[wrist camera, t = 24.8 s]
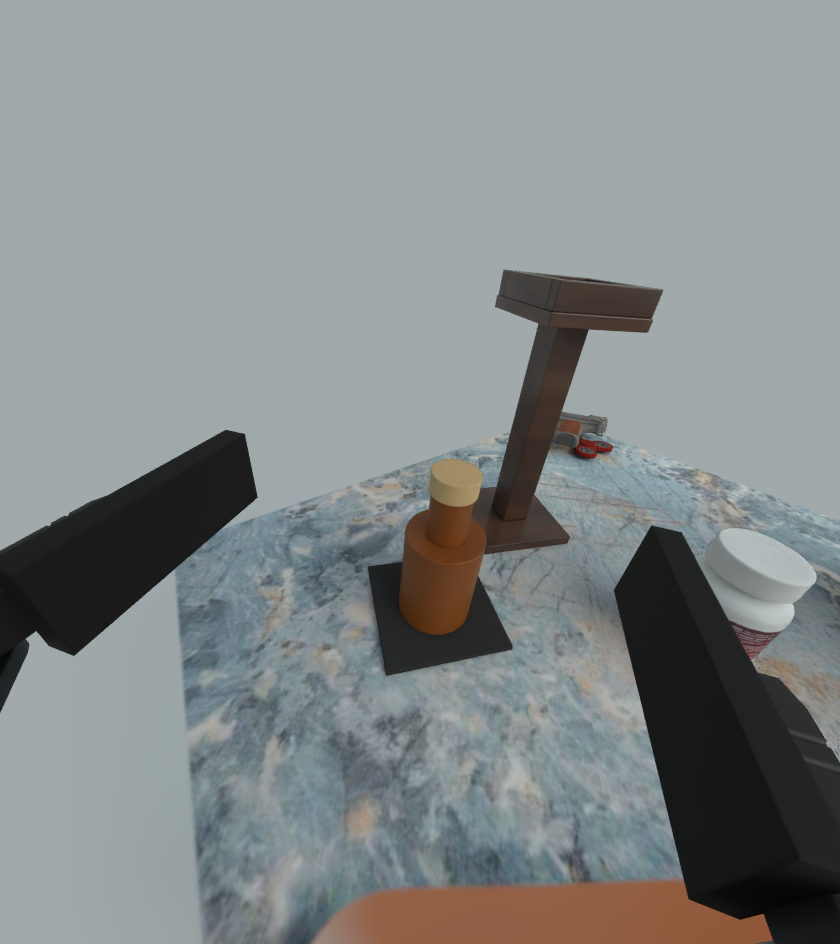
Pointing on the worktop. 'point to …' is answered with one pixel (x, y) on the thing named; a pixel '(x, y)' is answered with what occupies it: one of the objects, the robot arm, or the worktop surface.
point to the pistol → (577, 428)
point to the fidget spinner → (592, 448)
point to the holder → (549, 391)
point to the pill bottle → (755, 583)
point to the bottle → (443, 551)
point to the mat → (424, 650)
